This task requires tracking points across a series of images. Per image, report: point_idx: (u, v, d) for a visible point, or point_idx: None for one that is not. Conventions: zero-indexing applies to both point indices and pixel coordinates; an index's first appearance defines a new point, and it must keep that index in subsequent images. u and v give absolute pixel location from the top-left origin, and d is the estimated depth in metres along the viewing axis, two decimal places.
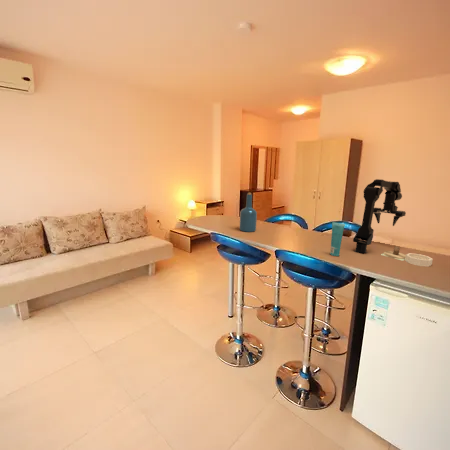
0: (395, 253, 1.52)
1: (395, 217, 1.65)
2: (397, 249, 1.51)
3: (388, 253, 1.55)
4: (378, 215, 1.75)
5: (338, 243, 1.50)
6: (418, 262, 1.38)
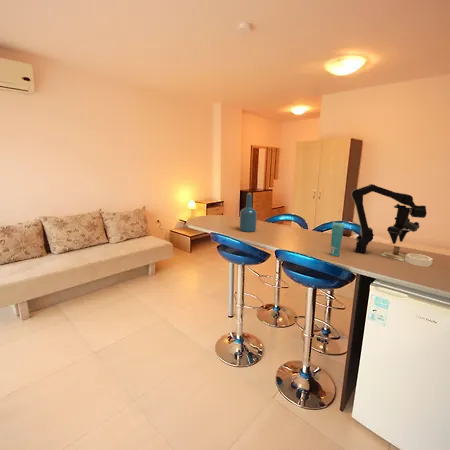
0: (395, 253, 1.52)
1: None
2: (397, 249, 1.51)
3: (388, 253, 1.55)
4: (401, 232, 1.54)
5: (338, 243, 1.50)
6: (418, 262, 1.38)
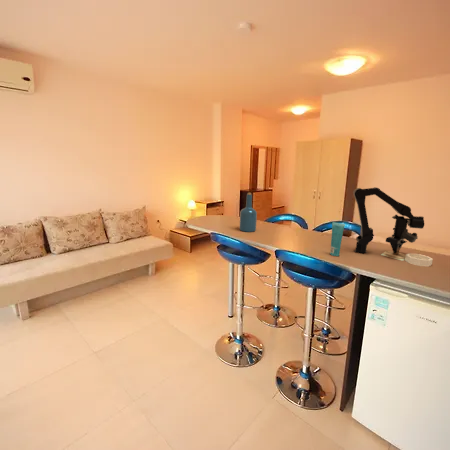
0: (395, 253, 1.52)
1: None
2: (397, 249, 1.51)
3: (388, 253, 1.55)
4: None
5: (338, 243, 1.50)
6: (418, 262, 1.38)
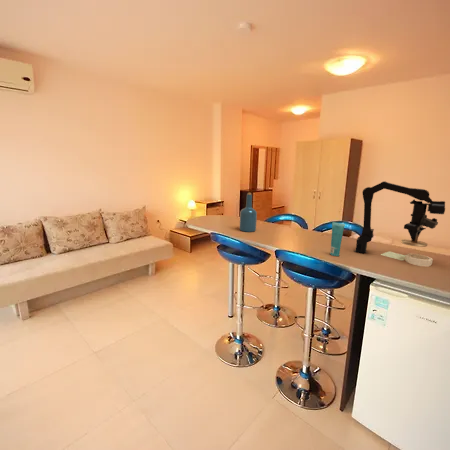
0: (414, 241, 1.43)
1: None
2: (416, 236, 1.42)
3: (406, 241, 1.46)
4: None
5: (338, 243, 1.50)
6: (418, 262, 1.38)
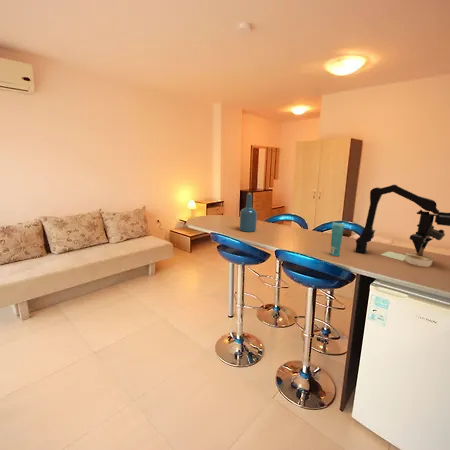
0: (419, 254, 1.41)
1: None
2: (421, 249, 1.40)
3: (411, 254, 1.44)
4: None
5: (338, 243, 1.50)
6: (418, 262, 1.38)
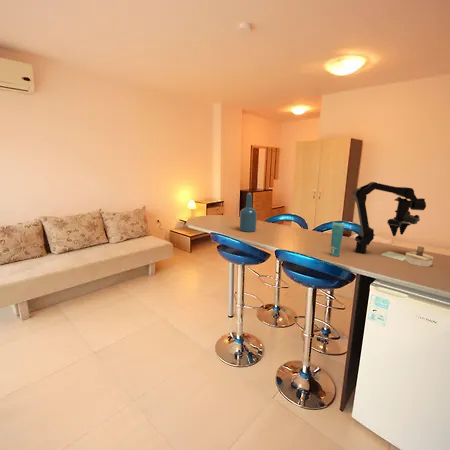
0: (419, 254, 1.41)
1: None
2: (421, 249, 1.40)
3: (411, 254, 1.44)
4: (401, 225, 1.56)
5: (338, 243, 1.50)
6: (418, 262, 1.38)
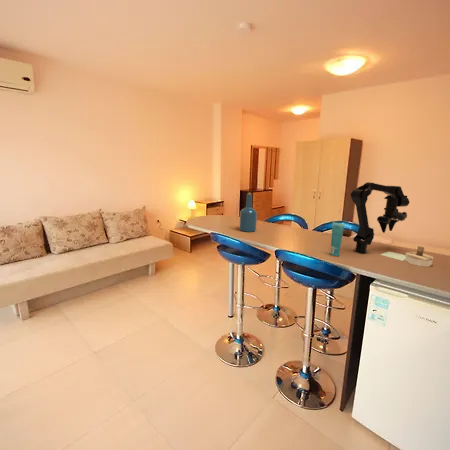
0: (419, 254, 1.41)
1: None
2: (421, 249, 1.40)
3: (411, 254, 1.44)
4: (390, 222, 1.64)
5: (338, 243, 1.50)
6: (418, 262, 1.38)
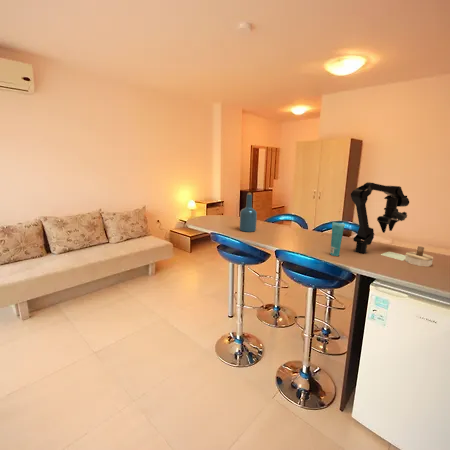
0: (419, 254, 1.41)
1: None
2: (421, 249, 1.40)
3: (411, 254, 1.44)
4: (390, 222, 1.64)
5: (338, 243, 1.50)
6: (418, 262, 1.38)
